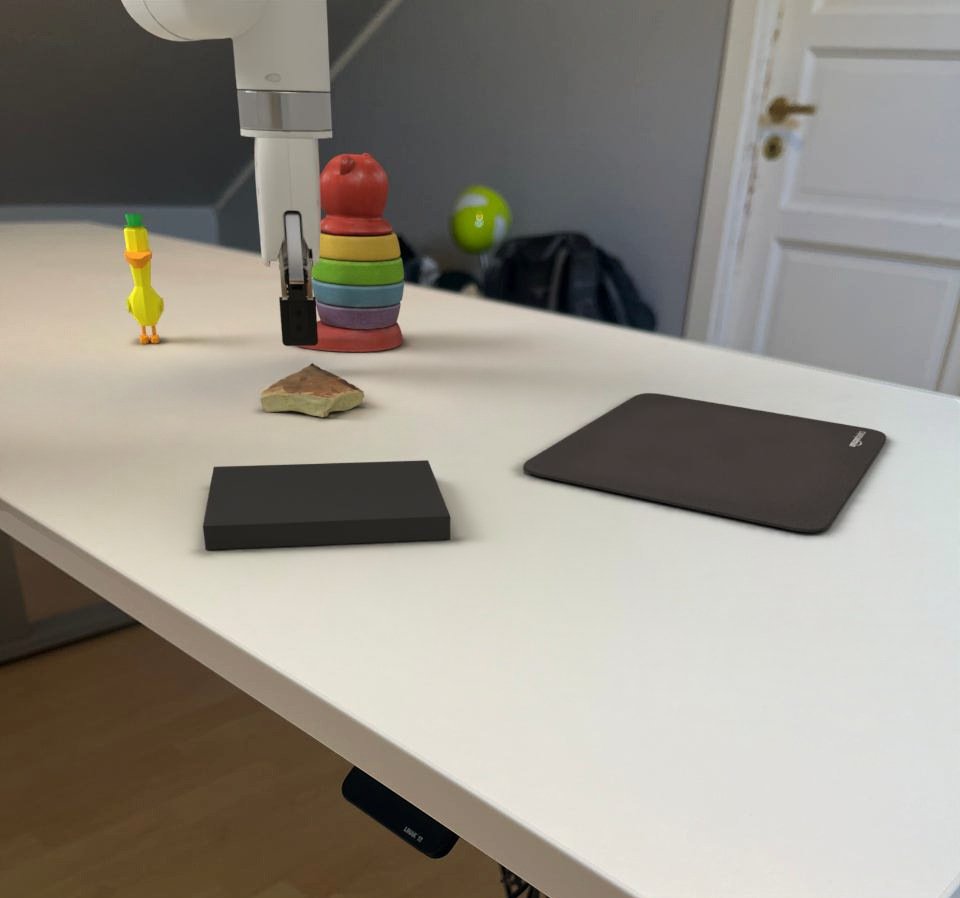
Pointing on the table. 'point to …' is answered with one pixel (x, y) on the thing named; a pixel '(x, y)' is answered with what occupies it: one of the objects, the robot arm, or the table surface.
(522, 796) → the table surface
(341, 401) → the shard
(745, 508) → the mouse pad
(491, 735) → the table surface
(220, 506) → the black rectangular block
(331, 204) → the stacking bear
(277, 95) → the robot arm
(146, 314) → the toy figure
